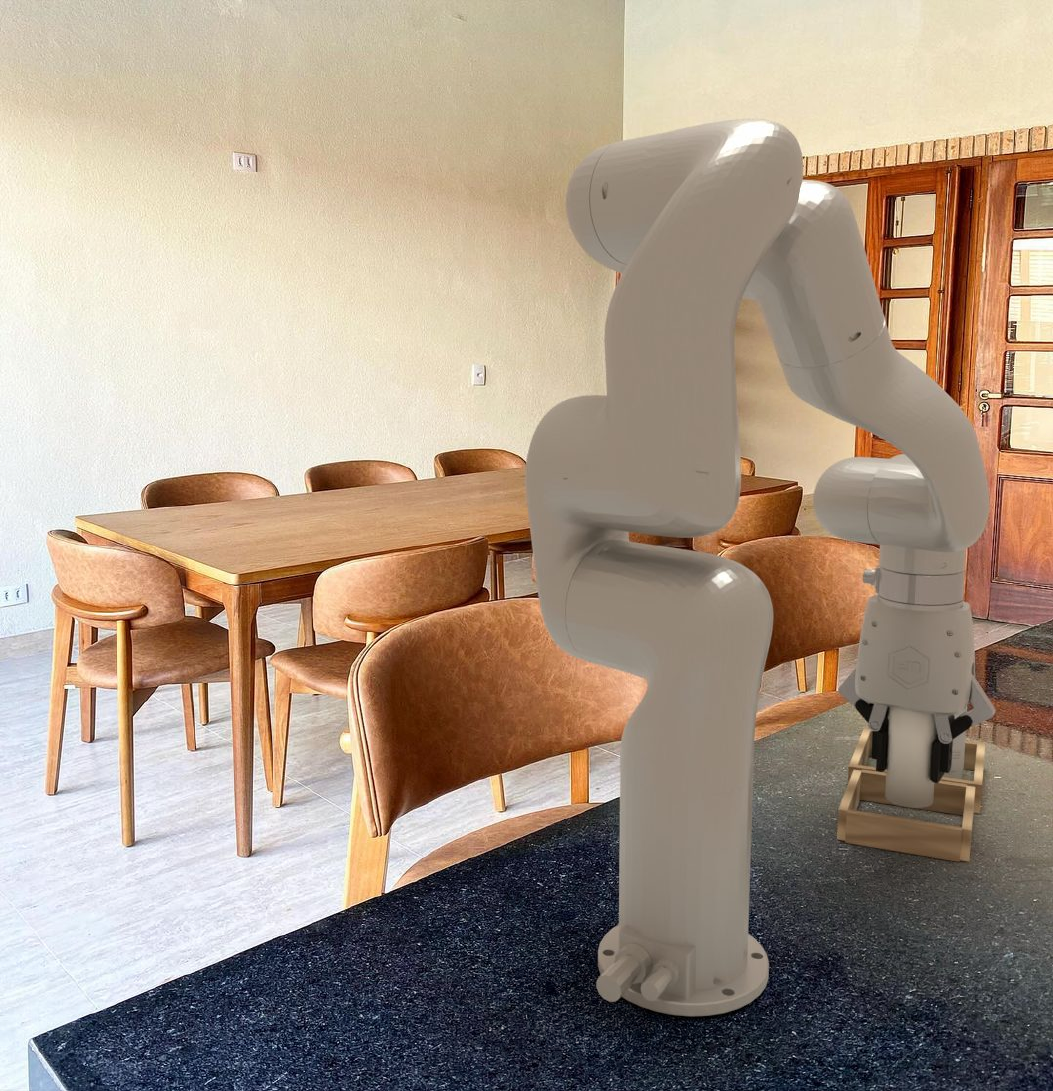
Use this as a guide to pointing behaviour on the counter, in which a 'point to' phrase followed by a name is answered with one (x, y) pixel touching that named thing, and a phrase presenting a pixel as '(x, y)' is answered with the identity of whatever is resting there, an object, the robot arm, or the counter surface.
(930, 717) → the frosted tube
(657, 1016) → the counter surface
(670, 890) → the robot arm
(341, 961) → the counter surface
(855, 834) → the oak rack
